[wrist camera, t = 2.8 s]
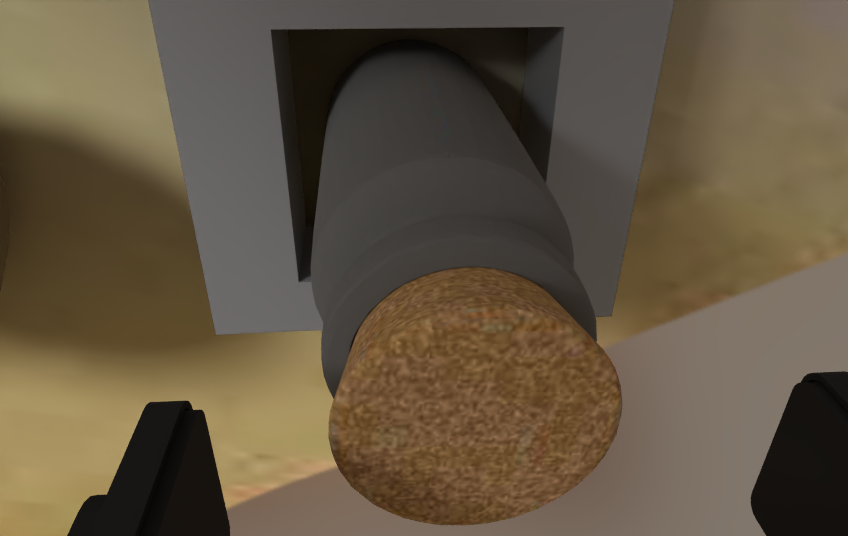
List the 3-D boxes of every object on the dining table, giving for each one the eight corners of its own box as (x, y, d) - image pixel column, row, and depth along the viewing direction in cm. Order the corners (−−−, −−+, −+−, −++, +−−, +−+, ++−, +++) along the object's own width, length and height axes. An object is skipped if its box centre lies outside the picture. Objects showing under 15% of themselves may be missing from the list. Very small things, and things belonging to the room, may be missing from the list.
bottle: (361, 8, 21) (371, 223, 8) (519, 77, 22) (735, 345, 10) (305, 166, 23) (244, 516, 11) (449, 217, 25) (547, 573, 12)
